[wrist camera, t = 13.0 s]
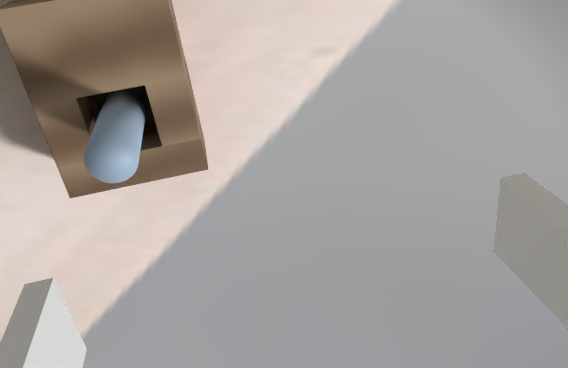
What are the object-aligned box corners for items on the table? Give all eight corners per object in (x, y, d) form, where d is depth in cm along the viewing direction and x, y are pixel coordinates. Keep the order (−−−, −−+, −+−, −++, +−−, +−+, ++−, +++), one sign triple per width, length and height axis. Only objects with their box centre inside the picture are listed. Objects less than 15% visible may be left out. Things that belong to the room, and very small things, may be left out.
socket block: (17, -2, 34) (-7, 10, 29) (164, -27, 35) (163, -19, 30) (81, 167, 40) (69, 198, 36) (204, 142, 41) (208, 169, 37)
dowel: (119, 73, 37) (100, 126, 28) (155, 95, 38) (148, 153, 29) (99, 105, 38) (73, 167, 28) (134, 125, 39) (121, 191, 30)
